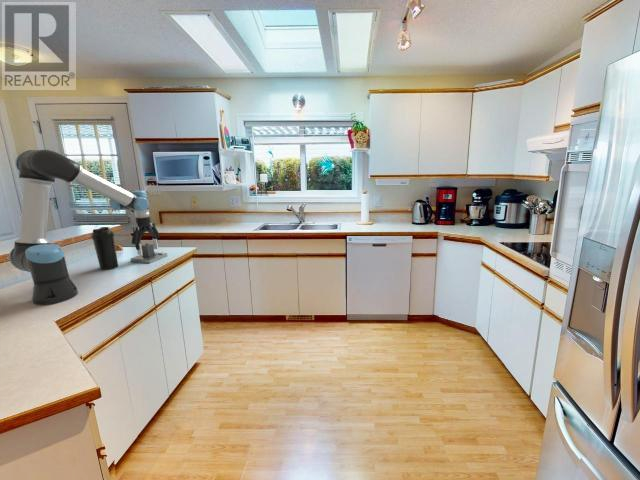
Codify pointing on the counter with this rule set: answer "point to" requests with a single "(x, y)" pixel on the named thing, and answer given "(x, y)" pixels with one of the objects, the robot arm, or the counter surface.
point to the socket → (149, 260)
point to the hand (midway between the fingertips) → (148, 251)
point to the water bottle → (105, 248)
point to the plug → (148, 250)
